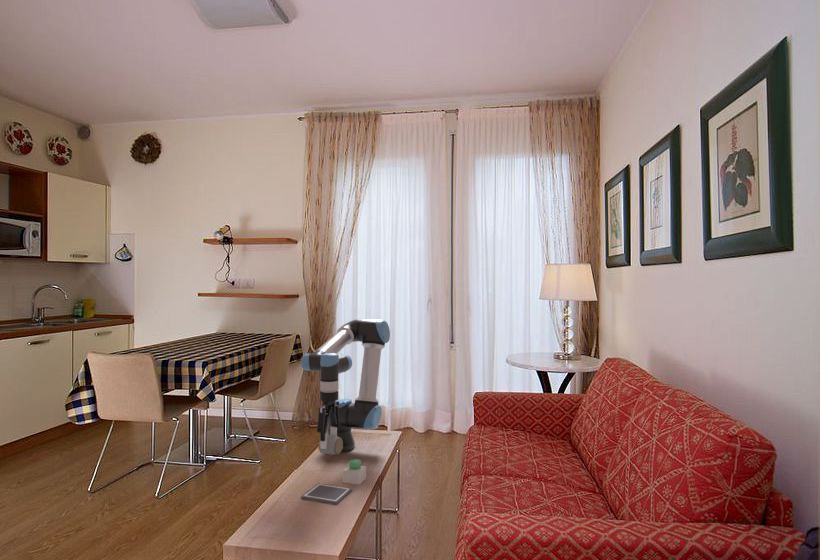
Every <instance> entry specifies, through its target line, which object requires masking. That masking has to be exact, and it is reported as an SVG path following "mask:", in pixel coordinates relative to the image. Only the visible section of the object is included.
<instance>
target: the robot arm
mask: <svg viewBox="0 0 820 560" xmlns="http://www.w3.org/2000/svg"><path fill="white" fill-rule="evenodd" d="M390 338H391V329H390V326H389V324H388V321H386V320H385V319H379V318H376V319H373V318H372V319H367V318H357V319H353V320H351V321H349V322H346V323H345V324H343V325H341V326H340V327H339V328H338V329H337V331H336V333H335V334H334V335H333V336H332V337H330V338H329V339H328V340H327V341H325V342H324V343H323V344H322V345H321V346H320V347H319V348H318V349H316V350H315V351H314V352H313V353H310V352H309V353H304V354H303V355H302V357H301V360H300V366H301V368H302V370H304V371H309V372H320V373H319V374H320V376H319V377H320V382H319V384H320V387H319V388H320V389H319V390H320V392H319V400H320V402H322V406H321V407H318V409H317V410H318V411H317V412H318V418H317V429H316V432H317V433H319V434H320V438H319V441H320V448H321V449H327V434H328V435H332V436H337V437H340V438H341V439H342V440H343V449H342V450H341V452H340V453H342V452H343V453H344V452H348V451H351V450H353V449H355V447H356V444H355V443H356V442H355V438H354V435H353V432H352V429H359V430H365V431H366V430H375V429H376V428H377V427H378V426H379V424H380V422H381V419H382V414H383V411H382V407H381V406H380V405H379V400H378V399H377V393H378V391H377V390H378V383H379V375H380V374H379V373H380V364H381V356H382V355H381V354H382V350H383V349H384V348H385V346H386V345H385V344H388V343H389V342H390ZM355 342H356V343H357V342H361V345H362V346H363V357H362V358H363V359H362V365H361V373H360V383H359V390H358V396H357V397H356V398H355V400H354V403H353V401H352V399H351V398H341V399H339V391H338V390H339V374H343V373H345V372H347V371H349V370H350V369H351V368H352V366H353V360H352V358H351V356H349V355H348V354H338V353H340V351H342V350H343V348H345V347H347V345H350V344H352V343H355Z"/></svg>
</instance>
